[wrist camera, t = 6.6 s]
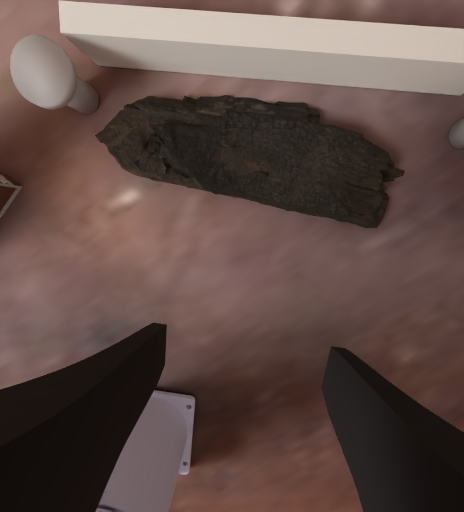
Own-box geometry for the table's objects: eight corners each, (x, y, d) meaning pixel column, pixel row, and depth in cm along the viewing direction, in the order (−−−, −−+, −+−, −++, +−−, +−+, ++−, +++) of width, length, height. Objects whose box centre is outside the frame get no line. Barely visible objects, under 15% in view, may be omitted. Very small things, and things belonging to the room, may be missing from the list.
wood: (415, 130, 17) (450, 115, 14) (378, 231, 19) (402, 236, 16) (116, 66, 18) (89, 38, 15) (107, 170, 19) (81, 164, 16)
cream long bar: (482, 163, 17) (552, 152, 13) (64, 124, 18) (13, 103, 14) (512, 73, 15) (599, 30, 12) (59, 38, 17) (2, -11, 13)
